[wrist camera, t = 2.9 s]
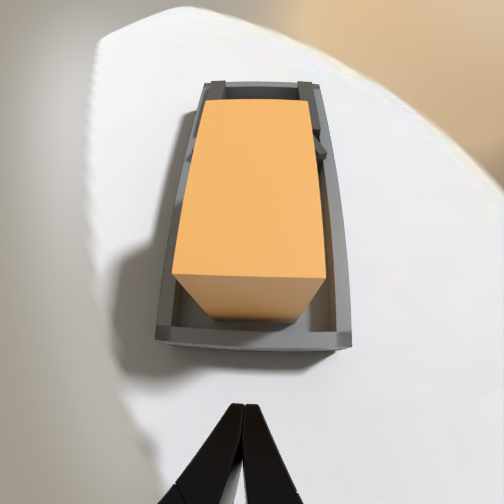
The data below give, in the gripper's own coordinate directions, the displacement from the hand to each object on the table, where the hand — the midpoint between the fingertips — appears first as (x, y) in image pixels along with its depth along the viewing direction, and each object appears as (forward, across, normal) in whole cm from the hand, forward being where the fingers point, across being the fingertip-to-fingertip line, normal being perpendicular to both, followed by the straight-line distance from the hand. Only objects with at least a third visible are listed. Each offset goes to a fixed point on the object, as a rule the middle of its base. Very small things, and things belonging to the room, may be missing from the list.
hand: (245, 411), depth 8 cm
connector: (+11, 0, -1) cm, 11 cm away
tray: (+15, 0, -4) cm, 15 cm away
